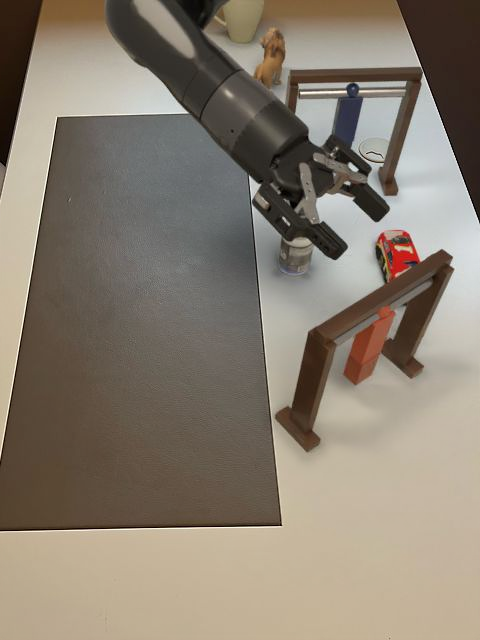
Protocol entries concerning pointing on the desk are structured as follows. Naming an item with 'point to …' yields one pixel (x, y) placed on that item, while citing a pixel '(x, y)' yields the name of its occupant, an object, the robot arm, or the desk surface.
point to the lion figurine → (271, 57)
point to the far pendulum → (349, 105)
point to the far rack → (369, 75)
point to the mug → (242, 19)
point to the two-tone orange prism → (372, 337)
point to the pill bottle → (295, 255)
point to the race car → (395, 253)
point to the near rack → (396, 350)
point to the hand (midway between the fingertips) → (364, 234)
